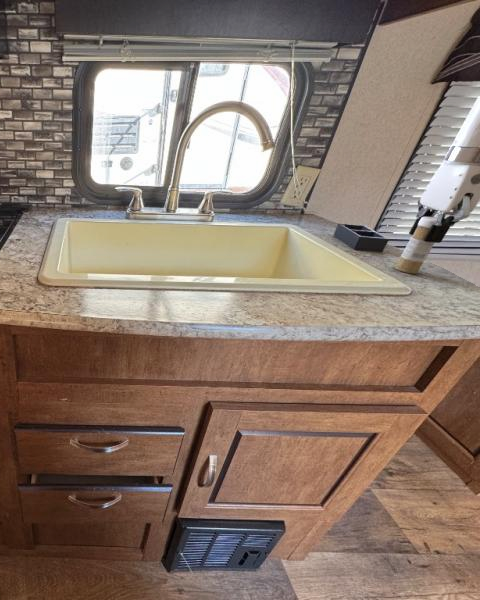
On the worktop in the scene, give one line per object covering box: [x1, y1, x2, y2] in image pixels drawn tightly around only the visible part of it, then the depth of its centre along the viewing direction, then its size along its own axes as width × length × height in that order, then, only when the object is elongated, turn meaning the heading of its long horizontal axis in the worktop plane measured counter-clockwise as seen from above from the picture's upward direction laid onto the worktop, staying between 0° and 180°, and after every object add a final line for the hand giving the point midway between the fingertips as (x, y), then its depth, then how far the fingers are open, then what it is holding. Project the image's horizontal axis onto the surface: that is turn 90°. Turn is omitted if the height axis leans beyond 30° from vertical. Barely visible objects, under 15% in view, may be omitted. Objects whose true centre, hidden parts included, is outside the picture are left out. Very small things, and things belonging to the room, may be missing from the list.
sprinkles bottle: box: [394, 216, 438, 274], centre depth 77 cm, size 5×5×13 cm
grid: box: [332, 222, 390, 253], centre depth 98 cm, size 7×14×4 cm, turn 165°
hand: (424, 237), depth 76 cm, fingers closed on sprinkles bottle, 4 cm apart
